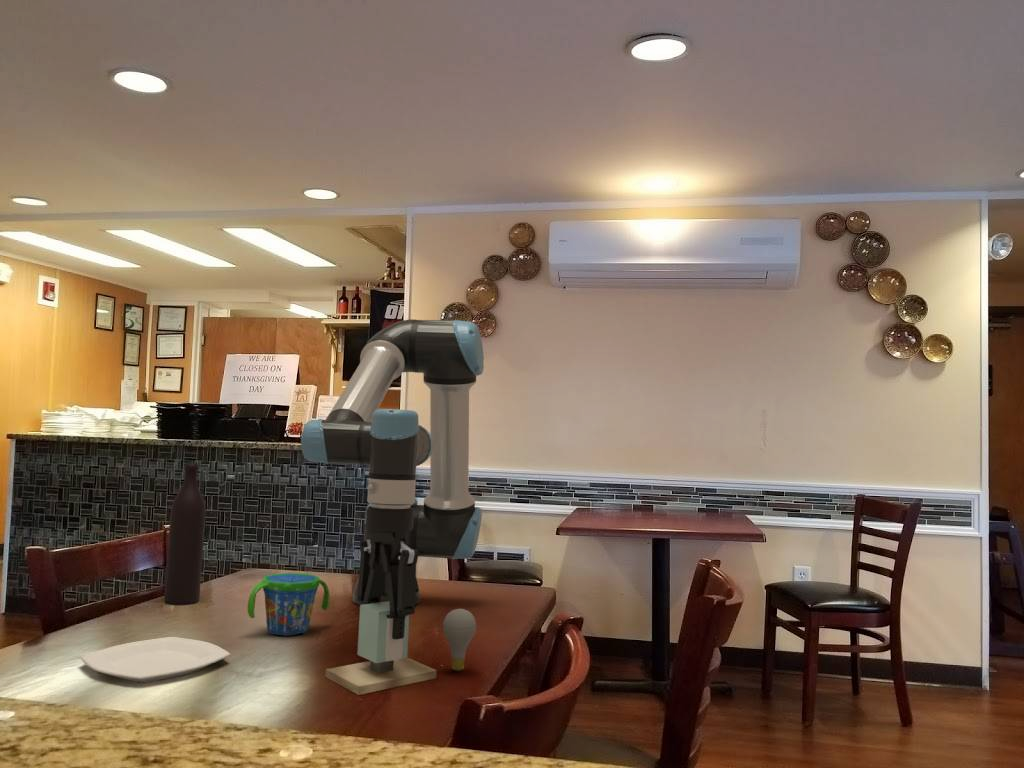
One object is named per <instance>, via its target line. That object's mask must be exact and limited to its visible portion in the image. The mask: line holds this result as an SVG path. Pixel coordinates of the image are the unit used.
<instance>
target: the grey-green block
mask: <svg viewBox="0 0 1024 768" xmlns="http://www.w3.org/2000/svg"><path fill="white" fill-rule="evenodd" d="M389 614H390V604H389V601H387V602H379V603H371V604H363V605H359V619H358V620H359V621H358V637H357V656H359V657H362V658H364V659H365V660H367V661H372V662H374V663H381V662H386V661H385V643H386V625H387V616H386V615H389ZM409 625H410V615H407V616H406V617H405V628H404V637H403V650H402V659H403V658H408V645H409V632H410V631H409V629H410V627H409Z"/></svg>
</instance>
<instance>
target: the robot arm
mask: <svg viewBox="0 0 1024 768" xmlns="http://www.w3.org/2000/svg"><path fill="white" fill-rule="evenodd" d="M482 341H483V340H482V336H481V331H480V329H479V327H478V325H476V323H474V322H472V321H465V320H458V319H457V320H456V319H453V320H451V319H448V320H447V319H445V320H444V319H412V318H411V319H404V320H401V321H397V322H395V323H392V324H389V325H388V326H385V328H383V329H381V330H380V331H378V332H376V333H375V334H374V335H373V336H371V338H370V339H369V340H368V341H367V342H366V344H365V345H364V347H363V348H362V350H361V351H360V357H359V364H358V366H357V367H356V369H355V371H354V372H353V373H352V376H351V378H350V379H349V381H348V382H347V384H346V386H345V387H344V388H343V391H342V393H341V394H340V395H339V397H338V399H337V400H336V403H335V404H334V406H333V407H332V409H331V411H330V412H329V414H328V415H327V416H326V418H325V419H322V418H319V419H310V420H308V421H306V422H305V424H304V426H303V428H302V432H301V437H300V439H301V440H300V447H301V451H302V455H303V458H304V459H306V460H307V461H308V462H312V463H320V464H321V463H323V464H325V465H328V464H336V465H337V464H339V465H363V466H368V482H367V483H368V484H367V486H366V490H367V499H366V501H367V503H368V504H367V506H366V509H365V517H364V522H363V524H364V527H363V530H364V531H363V539H362V540H360V541H359V550H360V559H359V560H360V561H359V572H358V578H357V579H356V584H355V586H354V589H353V592H352V602H353V603H354V604H356V605H358V606H360V605H363V604H371V603H379V602H387V601H389V604H390V614H389V615H386V616H387V625H386V643H385V661H392V660H398V659H402V650H403V637H404V628H405V617H406V616H407V615H409V616H410V615H414V614H415V613H416V605H417V604H419V603H420V598H421V592H420V588H419V584H418V579H417V562H418V558H419V557H420V558H421V557H423V558H437V559H438V558H439V559H448V560H449V559H452V560H455V559H461V560H462V559H463V560H466V559H467V560H468V559H470V558H471V557H473V555H474V554H475V551H476V549H477V544H478V540H479V536H480V531H481V525H482V524H481V523H482V516H483V515H482V514H483V510H482V508H481V507H478V506H476V499H475V497H474V496H473V495H472V494H471V493H470V492H469V470H470V469H469V467H470V466H469V461H470V460H469V458H470V456H469V453H470V449H469V447H470V445H469V443H470V390H471V388H472V387H473V386H474V385H475V384H476V383H477V376H480V375H482V374H483V373H484V369H485V368H484V364H485V363H484V360H485V359H484V358H485V357H484V347H483V346H484V345H483V342H482ZM402 373H416V374H423V384H425V385H426V386H427V387H428V388H429V390H430V391H429V392H430V395H429V396H430V398H429V399H430V401H429V402H430V403H429V404H430V417H429V418H430V425H429V427H430V429H429V430H430V432H429V431H428V430H427V429H426V428H425V427H423V426H422V425H421V424H419V414H418V413H417V411H415V410H411V409H398V408H395V409H394V408H380V406H381V404H382V402H383V400H384V398H385V397H386V395H387V392H388V390H389V388H390V387H391V384H392V383H393V381H395V380H396V379H398V378H399V377H401V375H402ZM429 458H430V470H429V471H430V473H429V474H430V488H429V490H430V491H429V492H430V493H429V494H427V495H426V497H424V499H423V504H419V502H418V499H417V498H416V481H417V480H416V476H417V475H416V472H417V467H419V466H420V465H422V464H425V462H426V461H428V460H429Z"/></svg>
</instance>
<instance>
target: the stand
mask: <svg viewBox="0 0 1024 768" xmlns="http://www.w3.org/2000/svg"><path fill="white" fill-rule="evenodd" d="M325 678H327V679H328V680H330V681H331V682H334V683H335V684H338V685H339V686H341V687H343V688H345V689H347V690H349V691H350V692H352V693H354V694H356V695H358V696H360V695H365V694H369V693H375V692H379V691H383V690H387V689H392V688H397V687H401V686H407V685H411V684H415V683H420V682H425V681H428V680H434V679H437V669H434V668H432V667H430V666H427V665H426V664H424V663H420V662H418V661H417V660H415V659H414V660H413V659H412V658H409V657H407V658H403V659H398V660H392V661H386V662H381V663H374V662H372V661H370V660H367V661H363V662H362V661H361V662H357V663H352V664H346V665H342V666H341V665H340V666H337V667H331V668H326V669H325Z"/></svg>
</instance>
